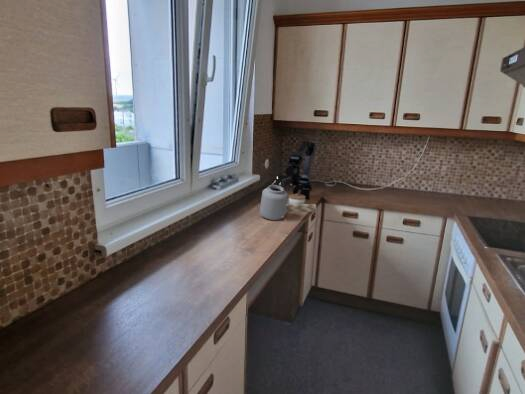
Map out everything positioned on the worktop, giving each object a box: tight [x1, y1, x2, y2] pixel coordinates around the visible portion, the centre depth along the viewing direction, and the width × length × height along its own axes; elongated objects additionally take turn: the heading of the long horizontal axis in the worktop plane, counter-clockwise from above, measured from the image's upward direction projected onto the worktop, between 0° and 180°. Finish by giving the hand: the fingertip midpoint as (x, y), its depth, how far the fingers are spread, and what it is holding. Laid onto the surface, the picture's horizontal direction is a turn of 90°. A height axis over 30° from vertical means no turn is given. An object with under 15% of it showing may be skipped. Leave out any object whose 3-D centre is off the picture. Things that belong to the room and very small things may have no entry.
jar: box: [259, 176, 289, 221], centre depth 201 cm, size 19×15×25 cm
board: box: [285, 203, 317, 213], centre depth 220 cm, size 20×3×4 cm, turn 100°
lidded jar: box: [288, 192, 306, 204], centre depth 227 cm, size 11×11×9 cm
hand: (294, 197), depth 233 cm, fingers closed
